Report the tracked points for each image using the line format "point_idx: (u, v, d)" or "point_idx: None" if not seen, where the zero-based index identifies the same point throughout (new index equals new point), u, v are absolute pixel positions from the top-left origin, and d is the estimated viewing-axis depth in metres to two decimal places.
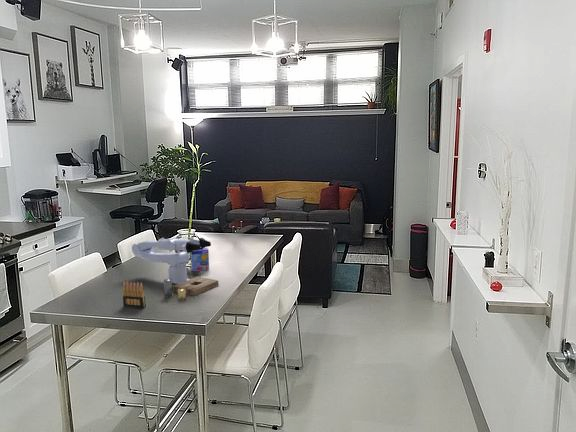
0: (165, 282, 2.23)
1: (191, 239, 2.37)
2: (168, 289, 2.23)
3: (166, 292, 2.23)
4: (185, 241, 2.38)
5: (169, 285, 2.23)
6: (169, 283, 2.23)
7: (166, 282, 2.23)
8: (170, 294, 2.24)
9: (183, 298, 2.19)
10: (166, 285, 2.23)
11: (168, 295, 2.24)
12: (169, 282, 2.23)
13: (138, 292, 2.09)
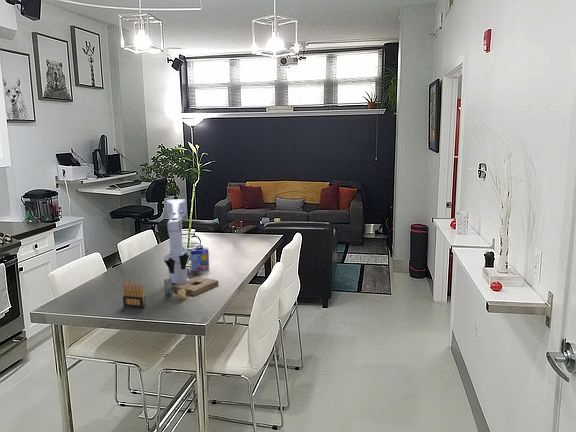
0: (165, 282, 2.23)
1: (180, 255, 2.26)
2: (168, 289, 2.23)
3: (166, 292, 2.23)
4: (176, 249, 2.25)
5: (169, 285, 2.23)
6: (169, 283, 2.23)
7: (166, 282, 2.23)
8: (170, 294, 2.24)
9: (183, 298, 2.19)
10: (166, 285, 2.23)
11: (168, 295, 2.24)
12: (169, 282, 2.23)
13: (138, 292, 2.09)
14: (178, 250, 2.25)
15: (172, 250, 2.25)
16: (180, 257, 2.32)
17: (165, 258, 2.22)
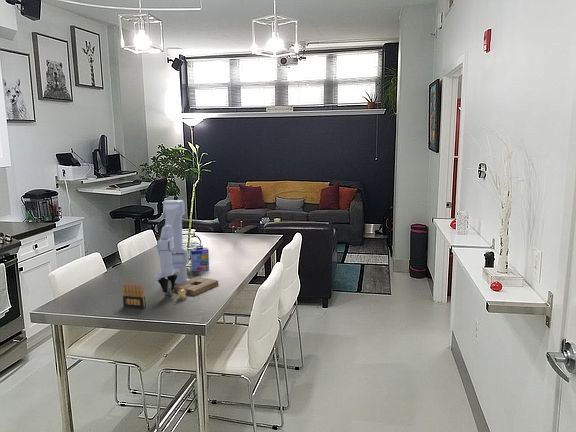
0: None
1: (170, 275, 2.22)
2: (168, 289, 2.23)
3: None
4: (167, 269, 2.21)
5: (169, 285, 2.23)
6: (169, 283, 2.23)
7: None
8: (170, 294, 2.24)
9: (183, 298, 2.19)
10: None
11: (168, 295, 2.24)
12: (169, 282, 2.23)
13: (138, 292, 2.09)
14: (168, 270, 2.21)
15: (162, 270, 2.21)
16: (168, 277, 2.26)
17: (155, 278, 2.18)
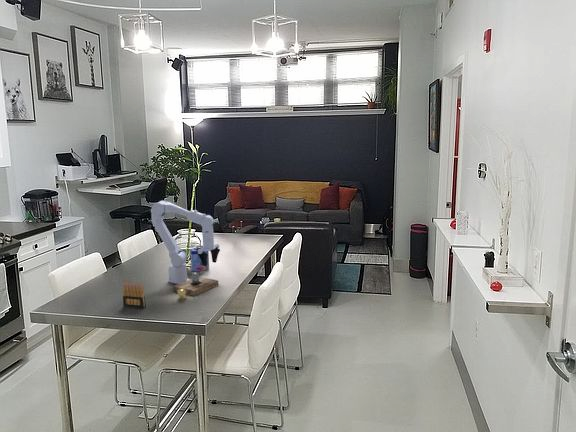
0: (193, 275, 2.33)
1: (212, 249, 2.41)
2: (196, 281, 2.34)
3: (194, 284, 2.34)
4: (209, 243, 2.40)
5: (197, 278, 2.34)
6: (197, 276, 2.34)
7: (194, 275, 2.33)
8: None
9: (183, 298, 2.19)
10: (194, 278, 2.33)
11: None
12: (197, 275, 2.34)
13: (138, 292, 2.09)
14: (210, 244, 2.41)
15: (205, 244, 2.40)
16: (211, 251, 2.48)
17: (199, 251, 2.37)
